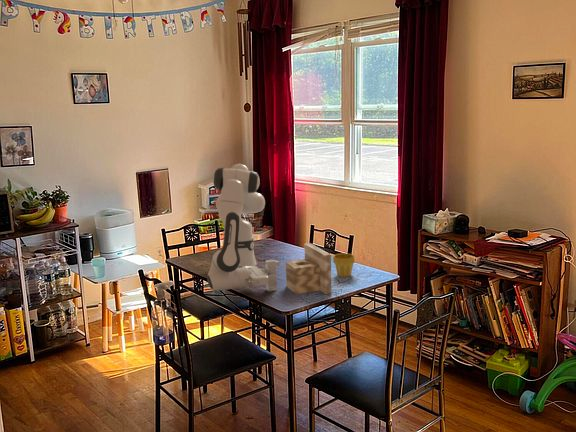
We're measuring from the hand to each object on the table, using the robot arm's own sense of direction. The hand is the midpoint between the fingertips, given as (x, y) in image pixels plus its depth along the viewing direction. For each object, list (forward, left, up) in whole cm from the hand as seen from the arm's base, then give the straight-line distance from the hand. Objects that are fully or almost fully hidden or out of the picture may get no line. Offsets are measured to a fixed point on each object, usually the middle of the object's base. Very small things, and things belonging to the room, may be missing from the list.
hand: (272, 273), depth 265 cm
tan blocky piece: (+14, +8, -8) cm, 17 cm away
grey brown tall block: (0, -1, -8) cm, 8 cm away
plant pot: (+24, +32, -8) cm, 41 cm away
